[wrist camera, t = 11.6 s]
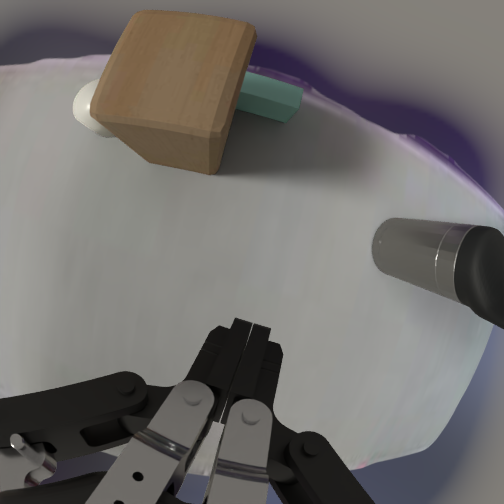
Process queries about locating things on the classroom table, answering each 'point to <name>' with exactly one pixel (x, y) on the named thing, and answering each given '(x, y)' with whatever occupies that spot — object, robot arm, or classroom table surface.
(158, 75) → the wooden block
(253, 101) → the teal block
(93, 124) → the cream rounded cylinder
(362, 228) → the classroom table surface
